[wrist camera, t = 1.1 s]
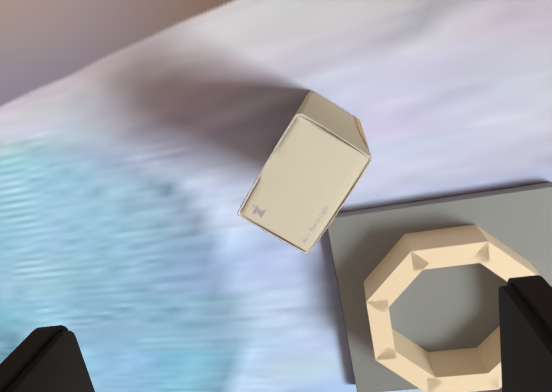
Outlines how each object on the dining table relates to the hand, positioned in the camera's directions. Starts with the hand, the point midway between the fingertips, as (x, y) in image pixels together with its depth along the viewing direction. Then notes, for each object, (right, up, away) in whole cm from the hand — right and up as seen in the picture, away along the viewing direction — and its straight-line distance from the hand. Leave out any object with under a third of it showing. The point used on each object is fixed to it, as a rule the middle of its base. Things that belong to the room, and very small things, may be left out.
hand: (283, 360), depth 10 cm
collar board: (+13, -4, +27) cm, 30 cm away
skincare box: (+3, +8, +24) cm, 26 cm away
